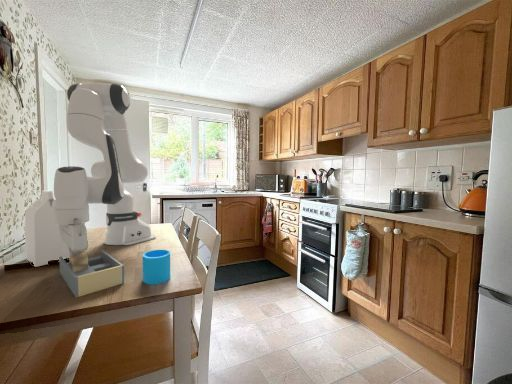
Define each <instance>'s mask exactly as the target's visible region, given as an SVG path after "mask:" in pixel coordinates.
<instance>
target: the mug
mask: <svg viewBox="0 0 512 384" xmlns="http://www.w3.org/2000/svg"><path fill="white" fill-rule="evenodd" d="M170 279H171V251H170V250H168V249H153V250H148V251H146V252H144V253H143V254H142V282H143V283H145V284H146V285H158V284H162V283H165V282H168V281H169V280H170Z"/></svg>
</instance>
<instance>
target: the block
mask: <svg viewBox="0 0 512 384" xmlns="http://www.w3.org/2000/svg"><path fill="white" fill-rule="evenodd" d="M88 258H89V256H88V255H87V254H86V253H85V252H84V253H78V255H73V256H69V259H68V260H69V261H68V262H69V265H70V268H71V269H72V270H73V272H76V271H81V270H85V269H88Z"/></svg>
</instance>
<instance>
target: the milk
mask: <svg viewBox="0 0 512 384" xmlns="http://www.w3.org/2000/svg"><path fill="white" fill-rule="evenodd" d="M55 204H56V199H55V197H54V191H53V190H48V189H47V190H44V189H43V190H42V191H41V196H40V198H39V199H36V200H35V201H34V202H32V203H31V205H30V206H28V208H26V209H25V212H24V220H25V221H24V230H25V231H24V234H25V235H24V239H25V240H24V241H25V242H24V249H25V250H24V255H25V256H24V258H25V259H27V260H29V261H31V262H33V264H34V265H33V266H34V267H35V268H36V267H40V266H45V265H49V264H48V261H50V260H53V259H58V258H59V257H61V256H62V258H63V257H67V256H70V252H69V248H68V245H67V244H66V243H65V242H64V241H63V240H62V239H61V236H60V231H59V224H55V209H54V208H55ZM27 260H26V261H27Z"/></svg>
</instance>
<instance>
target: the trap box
mask: <svg viewBox="0 0 512 384" xmlns="http://www.w3.org/2000/svg"><path fill="white" fill-rule="evenodd" d="M58 262H59V274H60V275H61V277H62V278H63V280H64V282H65V283H66V285H67V287H68V288H69V290H70V291H71V292H72V294H73V296H74V297H75V298H79V297H82V296H86V295H89V294H92V293H95V292H100V291H102V290H105V289H106V290H107V289H109V288H112V287H116V286H119V285H122V284H124V283H125V265H124V264H123V263H121V262H120V261H118V260H117V259H116V258H114V256H112V255H111V254H109V253H108V252H106V251H105V250H104V249H103V248H99V255H98V256H92V257H88V269H85V270H81V271H76V272H73V270H72V269H71V268H70V265H69V261H68V262H67V261H66V260H64V259H63V258H62V256H61V257H59V261H58Z"/></svg>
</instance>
